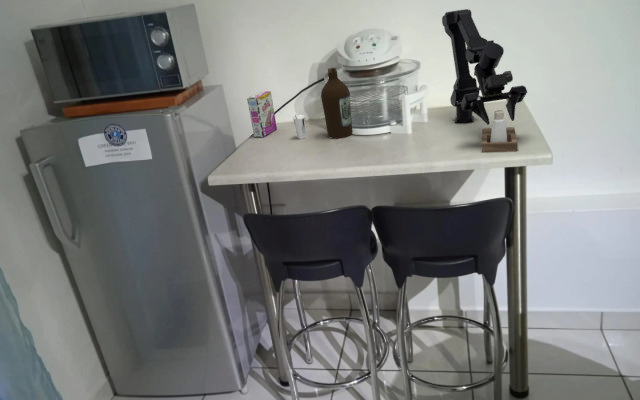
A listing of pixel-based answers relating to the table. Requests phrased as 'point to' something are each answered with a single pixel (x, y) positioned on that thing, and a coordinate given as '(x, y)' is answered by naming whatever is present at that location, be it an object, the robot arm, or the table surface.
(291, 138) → the table surface
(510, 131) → the wooden tray
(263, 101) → the candy bar box
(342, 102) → the olive oil
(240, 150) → the table surface
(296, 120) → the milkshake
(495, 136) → the pepper shaker
